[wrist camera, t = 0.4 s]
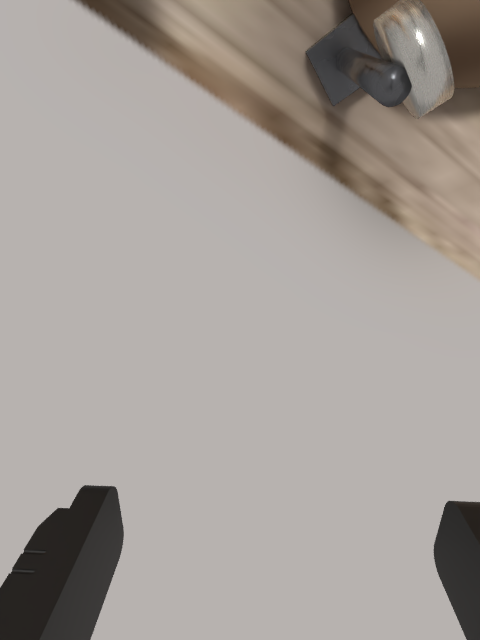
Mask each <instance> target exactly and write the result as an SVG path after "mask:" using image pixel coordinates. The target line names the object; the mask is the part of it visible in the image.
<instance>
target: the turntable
mask: <svg viewBox="0 0 480 640" xmlns="http://www.w3.org/2000/svg"><path fill="white" fill-rule="evenodd" d="M348 1H349V3H350V6H351V9H352V12H353V14H354V16H355V18H356V20H357V21H358V23H359V25H360V27H361V29H362V31H363V33H364V34H365V36H366V37H367V39H368V40H369V42H370V43H371V44H372V46H373V47H374V48H375V50H376V51H377V52H378V53H379V54H380V51H379V48H378V45H377V42H376V38H375V34H374V29H373V21H374V20H375V19H376V18H378V17H379V16H380V15H381V14H383V13H384V12H385V11H387V10H388V9H389V8H390V7H392V6H393V5H394V4H396V3H397V2H398V1H399V0H348ZM421 1H422V3H423V4H424V5H425V7H426V8H427V10H428V11H429V13H430V15H431V16H432V18H433V20H434V22H435V24H436V26H437V28H438V30H439V33H440V35H441V37H442V40H443V42H444V45H445V48H446V50H447V53H448V57H449V60H450V64H451V68H452V72H453V78H454V88H476V87H480V0H421ZM380 55H381V54H380Z"/></svg>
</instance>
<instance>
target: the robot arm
mask: <svg viewBox="0 0 480 640" xmlns="http://www.w3.org/2000/svg"><path fill="white" fill-rule="evenodd" d="M123 536H124V532H123V524H122V517H121V511H120V505H119V499H118V492H117V489H116V487H113V486H89V485H87V486H86V485H85V486H83V487H82V488H81V489H80V491H79V492H78V494H77V496H76V497H75V499H74V501H73V503H72V505H71V506H70V508H69V509H68V508H58V509H57V510H55V511H54V512H53V513H52V514H51V515H50V516H49V517H48V518H47V519H46V520H45V521H44V522H42V523H41V524H40V525H39V526H38V528H37V529H36V531H35V532H34V534H33V536H32V537H31V539H30V541H29V542H28V544H27V545H26V547H25V549H24V553H23V554H21V555H20V557H19V558H18V560H17V562H16V563H15V565H14V567H13V569H12V572H11V574H9V575H8V576H7V578H6V580H5V581H4V583H3V585H2V586H1V588H0V640H90V639H91V636H92V633H93V631H94V628H95V625H96V622H97V619H98V617H99V614H100V611H101V608H102V605H103V603H104V600H105V597H106V594H107V591H108V589H109V586H110V583H111V580H112V577H113V575H114V572H115V569H116V566H117V564H118V561H119V558H120V554H121V550H122V545H123ZM434 559H435V564H436V568H437V572H438V574H439V577H440V579H441V581H442V584H443V586H444V588H445V591H446V593H447V595H448V598H449V600H450V602H451V605H452V607H453V609H454V611H455V614H456V616H457V618H458V620H459V623H460V625H461V628H462V630H463V632H464V635H465V637H466V639H467V640H480V502H459V501H448V502H447V503H446V505H445V507H444V511H443V515H442V518H441V522H440V526H439V529H438V533H437V537H436V540H435V544H434Z"/></svg>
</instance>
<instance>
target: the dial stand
mask: <svg viewBox="0 0 480 640" xmlns="http://www.w3.org/2000/svg"><path fill="white" fill-rule="evenodd" d="M373 29H374V34H375V38H376V42H377V45H378V48H379V51H380V54H381V55H380V54H379V53H378V52H377V51H376V50H375V48H374V47H373V46H372V44H371V43H370V42H369V40H368V39H367V37H366V36H365V34H364V33H363V31H362V29H361V27H360V25H359V23H358V21H357V20H356V18H355V16H354V14H353V13H352V14H351V15H350V16H349V17H347V18H346V19H345V20H344V21H343V22H341V23H340V24H339V25H338V26H336V27H335V28H334V29H333V30H331V31H330V32H329V33H328V34H326V35H325V36H324V37H323V38H321V39H320V40H319V41H318V42H316V43H315V44H314V45H313V46H311V47H310V48H309V49H308V50H307V51H306V53H307V55H308V57H309V59H310V61H311V63H312V65H313V67H314V69H315V71H316V73H317V75H318V77H319V79H320V81H321V83H322V85H323V87H324V89H325V91H326V93H327V95H328V97H329V99H330V101H331V103H332V105H333V106H335V105H336V104H337V103H339V102H340V101H342V100H343V99H344V98H346V97H347V96H349V95H350V94H351V93H353V92H354V91H356V90H357V89H358V88H360V87H361V88H362V89H363V90H364V91H366V92H367V93H368V94H369V95H371V96H372V97H373V98H374V99H376V100H377V101H378V102H379V103H381V104H382V105H384V106H387V107H393V106H396V105H398V104H400V103H402V102H403V103H404V105H405V106H406V108H407V109H408V111H409V112H410V113H411V115H412V116H413V117H415V118H416V119H419V118H420V117H422V116H423V115H425V114H427V113H428V112H430V111H431V110H433V109H434V108H436V107H438V106H439V105H441V104H442V103H444V102H446V101H447V100H449V99H450V98H452V96H453V94H454V78H453V72H452V68H451V64H450V60H449V57H448V53H447V50H446V48H445V45H444V42H443V40H442V37H441V35H440V33H439V30H438V28H437V26H436V24H435V22H434V20H433V18H432V16H431V15H430V13H429V11H428V10H427V8H426V7H425V5H424V4H423V3H422V1H421V0H399V1H398V2H397V3H396V4H394V5H393V6H392V7H390V8H389V9H388V10H387V11H385V12H384V13H383V14H381V15H380V16H379V17H378V18H376V19H375V20H374V21H373ZM381 57H382V58H381Z"/></svg>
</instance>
